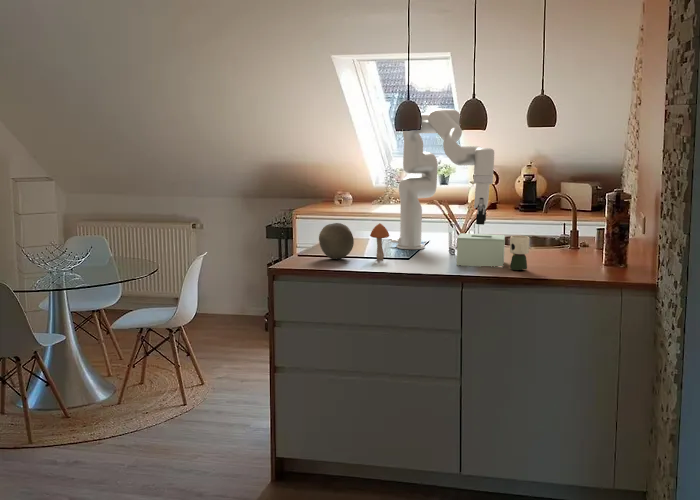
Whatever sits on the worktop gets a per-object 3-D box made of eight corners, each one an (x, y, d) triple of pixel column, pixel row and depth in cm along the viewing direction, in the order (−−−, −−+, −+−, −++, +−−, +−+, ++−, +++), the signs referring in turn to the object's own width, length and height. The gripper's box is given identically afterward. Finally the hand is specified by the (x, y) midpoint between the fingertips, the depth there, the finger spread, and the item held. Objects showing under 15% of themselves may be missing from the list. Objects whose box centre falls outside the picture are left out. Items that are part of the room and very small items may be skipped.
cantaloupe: (320, 256, 336) (320, 220, 333) (354, 257, 335) (354, 221, 333) (317, 262, 322) (317, 225, 319) (352, 263, 321) (352, 225, 319)
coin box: (456, 265, 318) (457, 237, 316) (459, 259, 330) (460, 233, 328) (502, 267, 314) (504, 239, 312) (503, 261, 326) (505, 235, 325)
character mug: (506, 267, 314) (508, 234, 312) (525, 267, 314) (526, 234, 311) (511, 272, 303) (513, 238, 301) (530, 273, 303) (532, 238, 301)
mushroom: (371, 261, 325) (372, 224, 323) (368, 258, 333) (368, 222, 331) (390, 260, 326) (391, 224, 324) (386, 257, 334) (387, 221, 332)
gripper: (475, 177, 326) (472, 219, 329) (472, 181, 309) (469, 225, 312) (493, 178, 324) (491, 220, 327) (491, 182, 308) (489, 226, 311)
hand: (480, 222), depth 320 cm, fingers open, 9 cm apart
